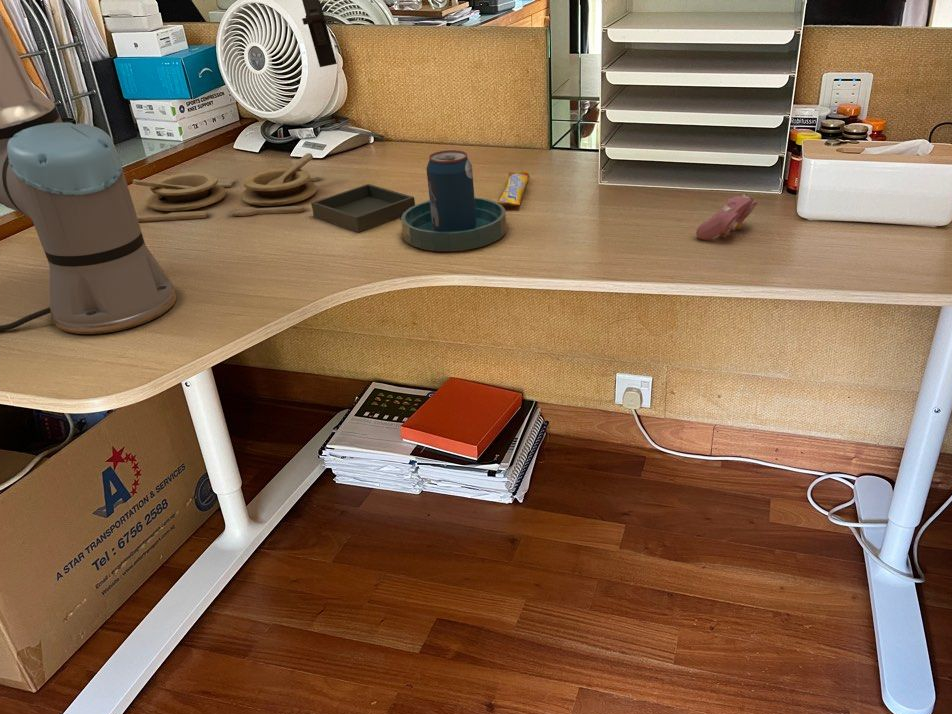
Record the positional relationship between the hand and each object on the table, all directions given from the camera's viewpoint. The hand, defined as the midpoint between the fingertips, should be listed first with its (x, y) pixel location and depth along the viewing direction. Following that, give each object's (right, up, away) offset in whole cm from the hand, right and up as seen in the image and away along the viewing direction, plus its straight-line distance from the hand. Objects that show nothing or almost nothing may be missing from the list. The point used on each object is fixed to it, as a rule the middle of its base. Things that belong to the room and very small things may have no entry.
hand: (325, 54), depth 138 cm
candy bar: (+31, -21, +9) cm, 38 cm away
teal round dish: (+22, -31, -5) cm, 38 cm away
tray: (+6, -25, +4) cm, 26 cm away
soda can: (+22, -30, -5) cm, 38 cm away
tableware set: (-20, -21, +13) cm, 32 cm away
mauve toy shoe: (+64, -31, -9) cm, 72 cm away
